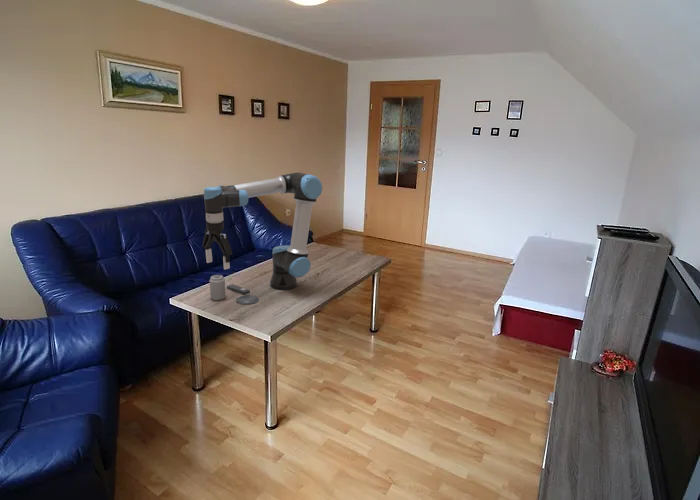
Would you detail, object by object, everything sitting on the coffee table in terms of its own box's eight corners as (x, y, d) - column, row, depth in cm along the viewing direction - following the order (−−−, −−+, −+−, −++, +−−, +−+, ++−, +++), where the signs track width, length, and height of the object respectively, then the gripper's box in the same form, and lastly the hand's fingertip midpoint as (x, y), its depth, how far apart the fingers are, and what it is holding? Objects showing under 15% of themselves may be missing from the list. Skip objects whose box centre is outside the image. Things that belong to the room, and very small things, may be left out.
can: (226, 294, 214) (225, 273, 211) (225, 300, 207) (223, 278, 204) (211, 295, 212) (210, 274, 209) (209, 301, 206) (208, 279, 202)
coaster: (249, 294, 216) (249, 293, 216) (262, 300, 209) (262, 299, 209) (232, 300, 208) (232, 299, 208) (245, 306, 201) (245, 305, 201)
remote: (226, 289, 222) (226, 285, 222) (232, 287, 225) (232, 283, 225) (244, 295, 215) (244, 291, 214) (250, 293, 218) (249, 289, 218)
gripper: (191, 218, 186) (195, 261, 193) (224, 227, 172) (227, 273, 178) (206, 215, 192) (209, 257, 199) (238, 224, 178) (241, 269, 184)
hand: (218, 265), depth 188 cm, fingers open, 13 cm apart
